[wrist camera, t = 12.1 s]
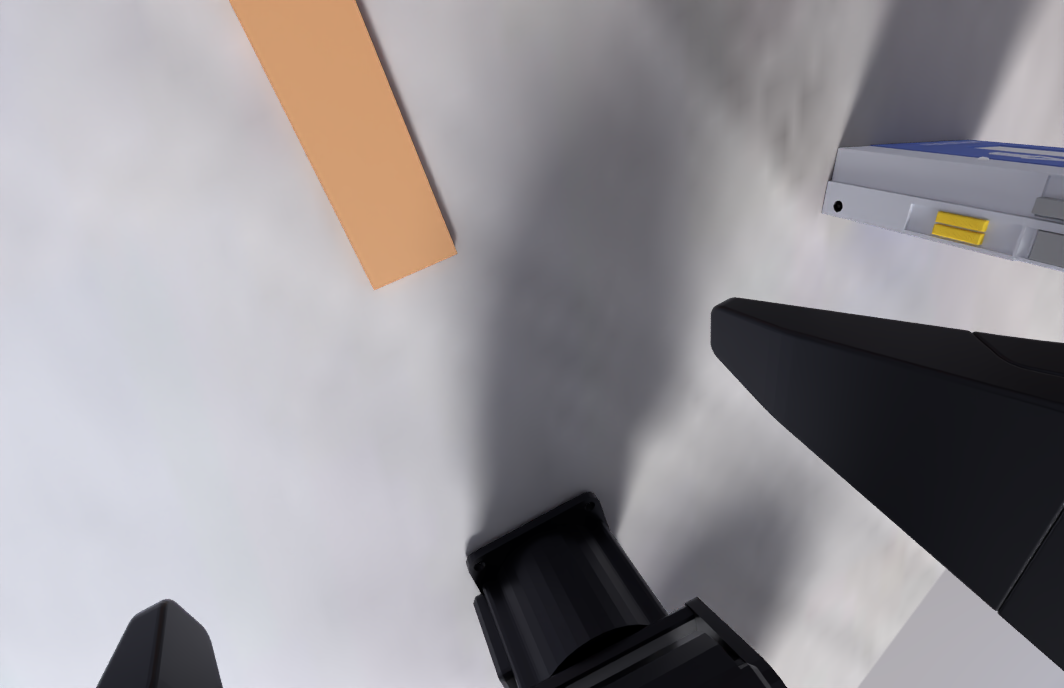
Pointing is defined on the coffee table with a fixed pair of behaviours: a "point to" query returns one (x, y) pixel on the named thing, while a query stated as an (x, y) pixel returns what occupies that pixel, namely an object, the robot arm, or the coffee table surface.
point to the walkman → (958, 195)
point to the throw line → (350, 130)
